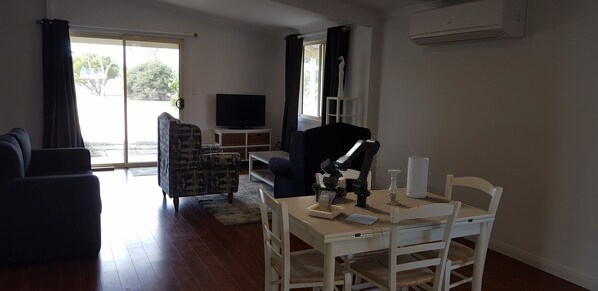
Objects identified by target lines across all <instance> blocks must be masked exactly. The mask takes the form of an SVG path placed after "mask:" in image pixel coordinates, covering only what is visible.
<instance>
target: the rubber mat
mask: <svg viewBox="0 0 598 291" xmlns="http://www.w3.org/2000/svg"><path fill="white" fill-rule="evenodd" d="M379 219H380V217H378V216H372V215H365V214H359V213H352V214H351V215H349V216H348V217H346V218H344V221H348V222H349V221H350V222H354V223H357V224H362V225H368V226H371V225H373V224H374V223H376V222H377V221H378V220H379Z"/></svg>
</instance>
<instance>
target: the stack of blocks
mask: <svg viewBox="0 0 598 291" xmlns="http://www.w3.org/2000/svg"><path fill="white" fill-rule="evenodd" d="M346 180H347V179H346V178H344V177H340V178H339V181H338V186H336V189H337V188H338V187H345V189H346V187H347V186H346V184H347V183H346V182H347V181H346ZM320 185H321V187H325V186H324V184H320ZM323 194H327V195H332V202H333V199H334V197H335V195H336V193H335V192H329V191H322V193H321V195H323ZM344 198H346V197H343V198H342V199H344ZM319 201H320V198H319ZM319 201H318V202H317V203H319ZM315 202H316V198H315Z"/></svg>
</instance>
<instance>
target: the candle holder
mask: <svg viewBox="0 0 598 291" xmlns="http://www.w3.org/2000/svg"><path fill="white" fill-rule="evenodd" d="M387 172H388V173H390V175H391V176H390V179H391V181H390V183H391V184H390V186H389V188H388V197H389V198H387V199H386V200H385V201H384V204H387V205H391V206H398V205H401V202H400V201H399V199H398V198H397V196H398V195H397V194H398V192H399V190H398V187H397V180H398V178H397V176H398V174H399V173H401V172H402V171H401V169H398V168H397V169H396V168H390V169H388V170H387Z"/></svg>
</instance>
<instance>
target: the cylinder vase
mask: <svg viewBox="0 0 598 291" xmlns="http://www.w3.org/2000/svg"><path fill="white" fill-rule="evenodd" d="M429 161H430V158H428V157H423V156H409V157H408V164H407V179H406V180H407V181H406V182H407V183H406V196H407V197H409V198H413V199H425V198H426V197H427V194H428V193H427V192H428V190H427V189H428V176H429V175H428V174H429Z"/></svg>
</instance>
